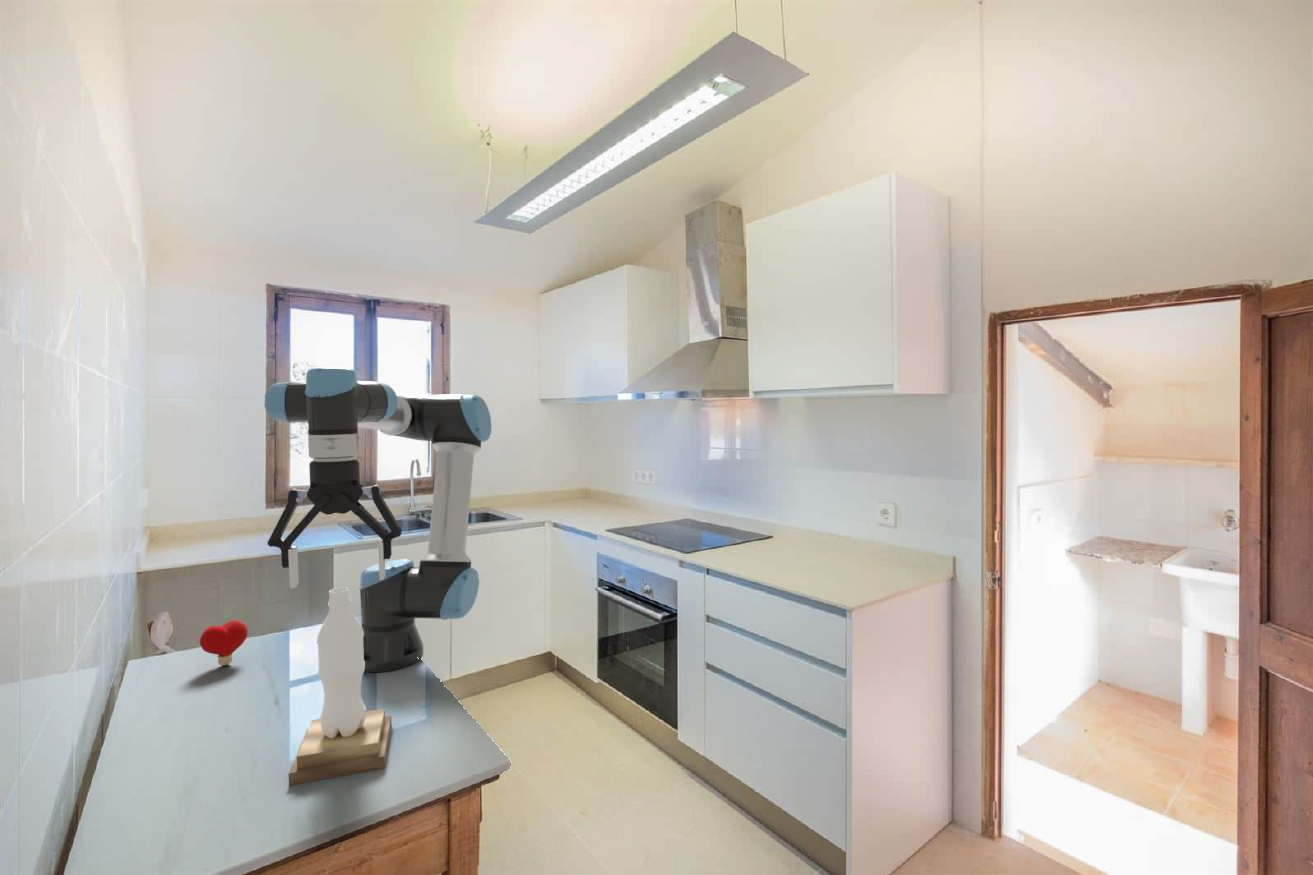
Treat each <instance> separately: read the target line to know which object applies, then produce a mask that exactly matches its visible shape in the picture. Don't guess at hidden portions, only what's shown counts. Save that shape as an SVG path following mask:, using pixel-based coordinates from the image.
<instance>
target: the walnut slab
mask: <svg viewBox="0 0 1313 875" xmlns="http://www.w3.org/2000/svg"><path fill="white" fill-rule="evenodd" d="M392 725H393V724H392V715H387V716H386V715H385V722H384V727H383V732H382V737H381V742H380V748H379V753H378V754H376V755H371V756H365V757H359V758H354V759H348V760H343V761H337V762H331V763H326V764H320V765H315V766H309V767H304V768H298V769H297V755H298V752H299V750H300V748H301V745H302V743H303V740H304V738H305V736H306V733H307V731H308V729H309V728H307V729H306V732H305V734H304V736H303V739H302V741H301V743H300V744H299V745H300V746H299V748H298V750H297V753H296V755H295V757H294V759H293V763H292V764H291V767H290V769H289V771H288V786H294V785H300V784H303V783H304V784H305V783H311V782H316V781H323V780H327V779H331V778H337V777H343V776H347V775H348V776H349V775H352V774H358V773H365V772H368V771H369V772H370V771H375V770H379V769H385V766H386V763H387V762H386V761H387V755H388V749H389V745H390V739H391V738H390V737H391V731H392Z"/></svg>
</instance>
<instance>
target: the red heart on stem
mask: <svg viewBox="0 0 1313 875" xmlns="http://www.w3.org/2000/svg"><path fill="white" fill-rule="evenodd" d="M247 636H248V628H247V626H246V625H245V623H243V622H242V621H241V620H240V621H239V620H230V621H227V622H226V623H224V624H223V625H211V626H209V627H207V628H205V630H204V631H203V633H202V634H201V636H200V639H199V644H200V647H201V650H203V651H204V652H205V653H208V654H211V655H217V659H218V660H217V661H218V662H217V663H218V665H220V666H222V667H228V666H229V665H230V664H231V663H232V662H233V653H234V652H235V651H237V650H238V649H239V648H240V647H241V646H242V645H243V644H244V642H246V639H247Z"/></svg>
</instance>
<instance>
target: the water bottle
mask: <svg viewBox="0 0 1313 875" xmlns="http://www.w3.org/2000/svg"><path fill="white" fill-rule="evenodd" d="M328 596H329V599H328V603H327V606H328V607H329V608H328V613H327V615H326V617H325V618H324V621H323V623H322V625H321V627H320V630H319V632H318V633H317V641H316V644H317V652H318V654H317V655H318V658H317V659H318V670H317V675H318V678H319V679H320V681H321V684H322V687H323V693H324V694H323V697H324V699H323V700H324V702H323V707H322V710H321V713H320V717H319V719H320V724H321V727H322V730H323V732H324V734H325V735H326V736H327V737H329V738H335V737H336V735H337V733H338V732H339V731H340V733H341V735H342V736H343V737H349V736H351V735H353V734H354V733H355V732H356V730H357V729H360V728H361V727H362V726H363V724H364V721H365V718H366V712H367V707H366V705H365V702H364V701H363V697H362V689H361V688H362V687H361V686H362V680H363V676H364V672H365V671H364V670H365V661H364V649H363V636H364V632H363V628H362V623H361V622H360V621H359V619H358V618H357V617H356V615H355V613H354V612H353V611H352V608H351V603H352V599H351V597H350V589H349V587H345V586H344V587H336V588H332V589H330V590H329V591H328Z"/></svg>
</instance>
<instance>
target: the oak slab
mask: <svg viewBox="0 0 1313 875" xmlns="http://www.w3.org/2000/svg"><path fill="white" fill-rule="evenodd" d="M385 717H386V711H385V708H380V709H375V710H374V709H373V710H368V711H367V710H366V718H365V721H364V724H363V726H362V727H361V728H360V729H357V730H356V732H355V733H354V734H353V735H351V736H349V737H343V736H342V735H341V733H340V731H339V732H338V733H337V735H336V737H335V738H329V737H327V736H326V735H325V734H324V732H323V730H322V727H321V724H320V718H316V719H312V720H311V722H310V725H309V726H308V728H307V729H308V731H307V730H306V731H307V733H306V732H305V734H306V736H305V735H304V736H305V738H304V737H303V738H304V740H303V739H302V741H303V743H302V742H301V743H302V745H301V744H300V745H301V748H300V747H299V748H300V750H299V749H298V750H299V752H298V751H297V752H298V755H297V754H296V755H297V769H298V768H304V767H309V766H315V765H320V764H326V763H331V762H337V761H343V760H348V759H354V758H359V757H365V756H371V755H376V754H378V753H379V748H380V742H381V737H382V732H383V727H384V722H385Z"/></svg>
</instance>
